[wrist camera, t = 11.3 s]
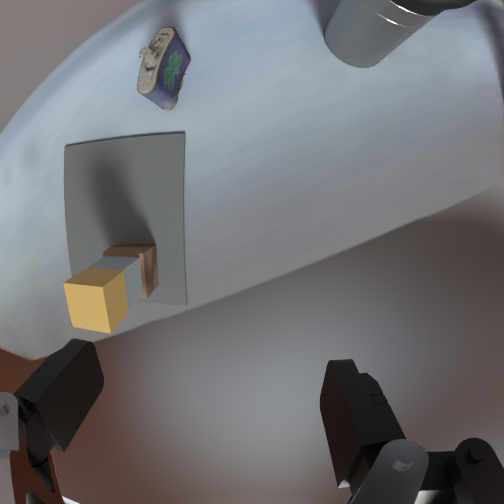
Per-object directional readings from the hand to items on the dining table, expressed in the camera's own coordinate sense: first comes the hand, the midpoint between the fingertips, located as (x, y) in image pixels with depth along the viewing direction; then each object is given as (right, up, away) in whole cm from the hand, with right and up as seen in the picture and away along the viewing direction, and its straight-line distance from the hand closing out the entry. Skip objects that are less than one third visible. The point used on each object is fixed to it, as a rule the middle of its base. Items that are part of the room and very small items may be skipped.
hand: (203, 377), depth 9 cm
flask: (-9, +28, +24) cm, 38 cm away
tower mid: (-15, +1, +25) cm, 30 cm away
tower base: (-15, +2, +30) cm, 34 cm away
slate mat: (-18, +8, +29) cm, 35 cm away
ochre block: (-15, 0, +21) cm, 25 cm away
